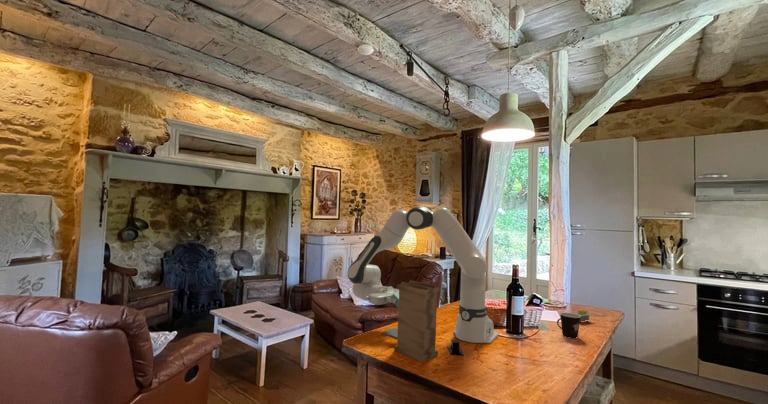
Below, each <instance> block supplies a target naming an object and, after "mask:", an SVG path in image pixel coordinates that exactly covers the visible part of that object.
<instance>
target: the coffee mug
mask: <svg viewBox="0 0 768 404" xmlns="http://www.w3.org/2000/svg"><path fill="white" fill-rule="evenodd" d="M580 317H581V316H579V315H577V314H575V313H571V312H561V313H560V318H558V319H557V322H556V324H557V326H558V328H560V329H561V331H562V332H561V333H562V334H563V335H564V336H563V335H562V334H561V335H562V336H563V337H565V336H566V337H565V338H568V337H571V338H570V339H577V338H578V337H579V336H578V335H579V329H580V324H581V323H580ZM560 322H561V323H560ZM559 323H560V324H561V326H560V324H559ZM576 337H577V338H576Z"/></svg>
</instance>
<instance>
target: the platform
mask: <svg viewBox="0 0 768 404" xmlns="http://www.w3.org/2000/svg"><path fill="white" fill-rule="evenodd" d="M574 314H577V315H579V316H581V317H580V322H581V321H585V320H589V321H590V316H591V315H592V313H591V312H588V310H585V309H581V310H577V312H576V313H574Z"/></svg>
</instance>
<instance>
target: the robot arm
mask: <svg viewBox="0 0 768 404" xmlns="http://www.w3.org/2000/svg"><path fill="white" fill-rule="evenodd" d="M459 222H460V221H458V219H457V218H456V216H454V214H453V213H452V212H451V211H450V210H449V209H448V208H446V207H439V208H436V209H435V210H432V208H430V207H428V206H426V205H425V206H424V205H416V206H414V207H411V209H409V210H408V211H406V210H404V209H395V210H394V211H393V212H392V214H391V215H390V216H389V217H388V219H387V220H386V222H385V223H384V225H383V227H382V228H381V230H380V231H379V232H378V233H377V234H376V235H374V236H373V237H372V238H371V239H369V241H368V243H367V244H366V245H365V246H364V248H363V249H362V251H361V252H360V254H359V255H358V256H357V257H356V259H355V260H354V261H353V262H352V263H351V264H350V265H349V267H348V269H347V279H349V282H351V283H352V293H353V295H354V296H355V297H356V298H358V299H361V300H363V301H366V302H368V303H370V304H372V305H375V306H380V305H385V304H389V303H390V304H391V303H392V304H394V303H397V299H395V298H394V299H393V298H391V297H392V295H393V293H399V289H397V288H394V287H393V286H391V285H390V286H387V285H386V286H385V285H380V282H381V279H382V278H381V277H382V270H381V268H380V267H379V266H378V265H376V264H370V262H371V261H372V259H373V258H374V257H375V255H376V254H377V253H379V252H381V251H384V250H390V249H393V248H396V247H397V246H398V245H399V244H401V241H402V240H403V238H404V237H405V234H406V233H407V231H408V230H409V229H410V228H411V229H413V230H415V231H417V230H418V231H419V230H423V229H427V228H430V227H431V228H433V229H434V230H435V231H436V233H437V234H438V236H439V237H440V238H441V240H442V242H443V243H444V244H445V246H446V247H447V248H448V250H449V251H450V253H451V255H452V256H453V258H454V260H455V261H456V263H457V264H458V265H459V266H458V267H460V293H459V294H460V300H459V306H458V315H457V316H456V321H455V329H454V330H453V334H454V335H455V337H456V339H457V340H460V341H463V342H467V343H473V344H474V343H475V344H483V343H484V344H492V343H493V342H494V341H495V340H496V339H497V337H498V336H499V335H500V333H499V332H498V331H496V330H494V329H495V328H494V327H495V326H494V322H493V320H492V319H490V317H489V316H488V313H487V312H489V311H490V307H489V306H486V273H487V270H488V263H487V260H486V258H485V257H484V256H483V254H482V253H481V251H479V249H478V248H477V246H476V245H475V243H474V241H472V239H471V238H470V236H469V234H468V233H467V232H466V231H465V229H464V228H463V226H462V225H461V223H459Z"/></svg>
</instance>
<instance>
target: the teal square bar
mask: <svg viewBox="0 0 768 404" xmlns="http://www.w3.org/2000/svg"><path fill="white" fill-rule="evenodd" d="M391 298H393V299H394V298H395V299H397V303H393V304H394V305H395V306H396V307H397V308H399V293H393V295H392V297H391Z"/></svg>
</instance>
